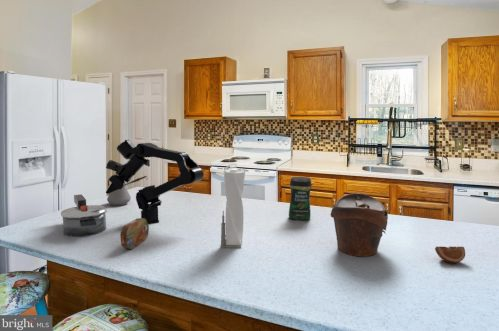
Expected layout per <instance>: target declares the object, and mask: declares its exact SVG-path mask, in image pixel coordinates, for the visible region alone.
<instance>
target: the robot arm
mask: <svg viewBox="0 0 499 331" xmlns="http://www.w3.org/2000/svg"><path fill="white" fill-rule="evenodd" d="M116 150H117V151H118V154H120V155H121V156H122V157H123V158H124V159H125V160H128V161H127V162H125V163H124V164H123V163H120V162H118V161H114V160H112V159H110V160H108V162H107V163H106V167H105V169H108V170H111V171H113V172H115V174H112V175H111V176H110V177H109V178H108V181H109V182H110V184H109V186H108V187H107V189H106V191H105V194H107V195H109V193H111V192H113V191H116V190H118V189H120V190H121V189H122V188H123V187H124V186H125V184H126V183H129V182H131V180H132V178H133V177H134V176H135V175H136V174H137V173H138V171H140V170H141V169H142V168H143V167H144V166H146V167H148V168H149V167H151V165H150V164H151V163H150V162H151V161H150V159H146V158H157V159H161V160H162V159H163V160H166V161H172V162H176V163H177V166H178V167H177V168H178V171H179V174H178V176H176V177H175V178H172V179H170V180H168V181H166V182H164V183H162V184H159V185H158V186H156V185H155V184H151V185H149V186H144V187H143V188H141V189H137V191H138V192H137V191H136V193H135V201H136V203H137V207H138V209H139V210H140V218H145V219H146V220H147V222H148V224H154V223H159V222H160V219H159V207H160V206H162V200H161V198H160V196H161V195H164V194H166V193H168V192H170V191H173V190H175V189H178V188H179V187H182V186H185V185H190V184H194V183H196V182H199V181H202V180H203V179H204V171H203V169H202V168H200V165H199V164H198V163H197V162H196V161H195V160H194V159H193V158H192V157H191V156H190V155H189V153H188V152H185V151H177V150H174V149H173V150H172V149H168V148H162V147H159V146H158V145H157V144H155V143H152V142H142V143H141V142H140V143H137V144H136V146H135V145H134V144H133V143H132V141H131V140H130V139H124V141H123V142H120V144H118V146H116ZM125 187H126V186H125Z"/></svg>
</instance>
